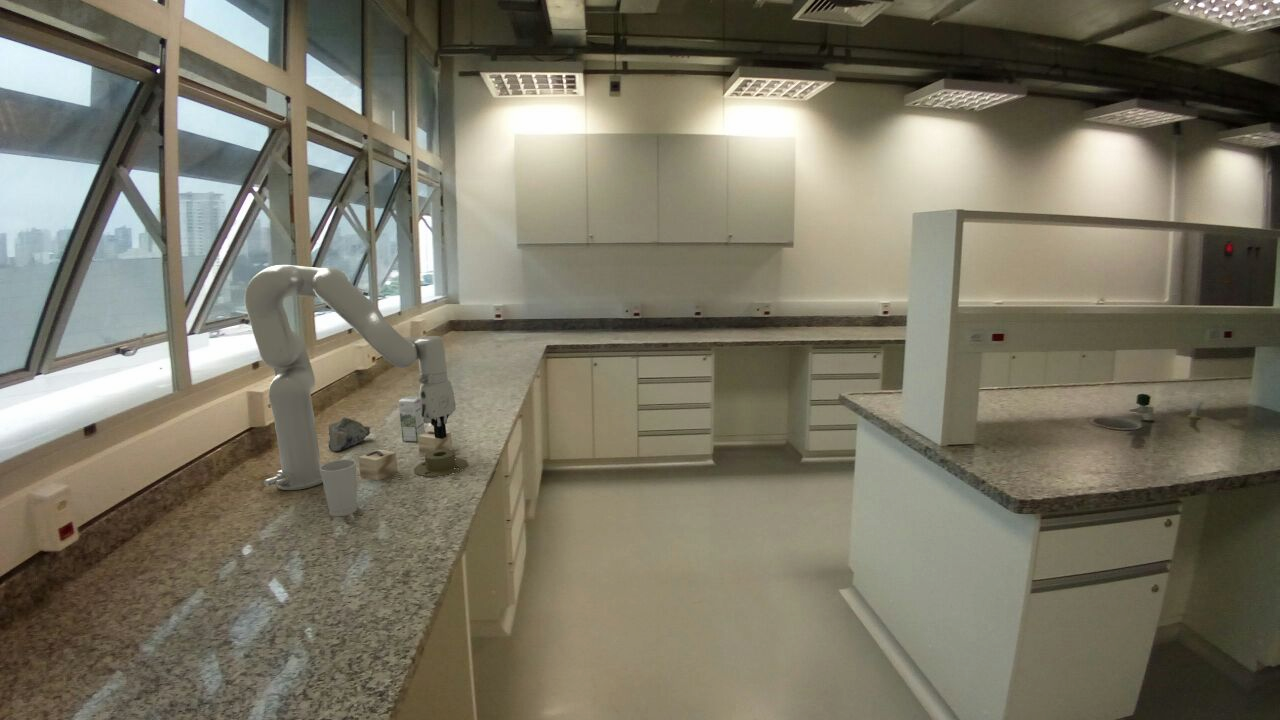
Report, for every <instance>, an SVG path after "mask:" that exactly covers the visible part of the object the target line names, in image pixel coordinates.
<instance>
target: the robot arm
mask: <svg viewBox="0 0 1280 720" xmlns="http://www.w3.org/2000/svg"><path fill="white" fill-rule="evenodd" d="M348 278H349V277H347V274H345V273H344V272H343V271H342V270H339V269H337V268H332V267H315V266H314V267H313V266H303V265H291V264H277V265H272V266H268V267H266V268H264V269H263V270H260V271H259V272H258V273H257V274H255V275H254V276H253V277H252V278H251V280H250V281H249V282H248V284H247V286H246V287H245V291H244V306H245V310H246V312H247V316H248V319H249V323H250V326H251V329H252V334H253V336H254V339H255V342H256V346H257V350H258V353H259V355H260V358H261V360H262V362H263V363H264V364H265V365H266V366H268V367H270V368H272V369H273V374H274V376H275V377H274V378H273V380H272V381H271V382H270V385H269V388H268V400H269V405H270V407H271V412H272V415H273V416H272V417H273V422H274V427H275V433H276V439H277V448H278V455H279V460H280V470H277V474H276V475H275V476H273V477H269V478H267V479H265V480H264V481H263V484H264V486H265V487H266V488H268V487H271V486H273V485H275V486H277V489H279V490H284V491H297V490H299V491H300V490H304V489H309V488H312V487H315V486H318V485H321V484H323V481H322V477H321V473H320V467H321V466H322V464H321V457H320V448H319V442H318V440H319V439H318V432H317V427H316V419H315V414H314V413H315V412H314V409H313V407H314V406H313V404H312V403H313V402H312V395H311V394H312V392H313V391H314V388H315V385H316V379H315V378H316V377H315V374H314V371H313V368H312V363H311V360H310V358H309V357H310V356H309V354H308V350H307V348H306V345H305V342H304V340H303V338H302V336H300V334H298V333H297V332H295V331H293V330H292V329H291V326H290V322H289V318H288V315H287V312H286V311H285V307H284V300H285V299H286V298H288V297H292V296H293V297H306V298H308V297H309V298H319V299H320V300H321V301H322V302H324V304H326V305H327V306H328V307H329V308H330V309H331V310H332V311H334V312H335V313H336V314H337V315H338V316H339V317H340V318H342V319H343V320H344V321H345V322H346V323H347V324H348V325H349V326H350V327H352V328H353V329H354V331H355V332H356V333H357V334H358V335H359V336H361V337H362V339H364V340H365V342H367V344H369V346H370V347H371V348H373V349H374V350H375V351H376V352H378V354H379V355H380V356H381V357H383V358H384V359H385V360H386V361H387V362H389V364H391V365H392V366H394V367H396V368H400V369H407V368H409V367H411V366H412V365H413V364H414V363H415V362H416V361H418V367H419V368H418V370H419V375H420V376H419V379H418V382H419V383H420V386H419V397H420V411H421V416H422V417H423V419H424V420H423V422H424V424H431V426H432V427H433V430H434V434H435V438H440V439H443V438H445V437H447V435H446V431H447V427H446V425H447V423H448V419H449V417H451V416H452V414H453V413H454V412H455V411H456V410H457V409H456V399H455V393H454V389H453V384H452V383H451V380H450V379H448V377H449V376H448V369H447V360H446V359H447V358H446V350H445V342H444V339H443V337H442V336H438V335H428V336H427V335H426V336H421V337H409V336H407V337H405V336H404V337H403V336H402V335H401V334H400V333H399V332H398V331H397V330H396V329H395V328H394V327H393V326H392V325H390V323H389V322H388V320H386V319H385V317H384V316H383V314H382V312H381V311H380V309H379V308H378V306H376V305H375V303H374V302H372V301H371V300H370V299H369V298H368V297H367V296H366V295H364V294H363V293H362V292H361V291H360V290H359V289H358V288H357V287H356V286H355V285H354V284H353V283H352V282H351V281H349V279H348Z"/></svg>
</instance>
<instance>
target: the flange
mask: <svg viewBox="0 0 1280 720" xmlns="http://www.w3.org/2000/svg"><path fill="white" fill-rule="evenodd" d="M455 459H456V460H455ZM424 464H425V465H424ZM466 466H468V461H467V459H464V458H462V457H457V456H456V452H455V450H453V449H452V450H450V449H439V450H434V451H431V452H428V453H426V454H424V461H422V462H420V463H419V464H417V465H416V466H415V467H414V468H413V473H414V475H416V476H418V477H421V476H423V477H422V478H439V477H438V476H443V477H446V476H445V475H448V476H450V475H449V474H452V473H455V474H457V473H456V472H458V471H460V470H462V469H464V468H465V467H466ZM454 468H459V469H454ZM466 468H467V467H466ZM466 468H465V469H466ZM465 469H464V470H465ZM462 471H463V470H462ZM460 472H461V471H460ZM427 473H428V474H427ZM458 473H459V472H458ZM452 475H453V474H452Z"/></svg>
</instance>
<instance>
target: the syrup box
mask: <svg viewBox="0 0 1280 720" xmlns="http://www.w3.org/2000/svg"><path fill="white" fill-rule="evenodd" d="M398 410H399V419H400V428H401V429H400V430H401V440H402V442H408V443H410V442H413V443H415V442H416V443H419V441H418V435H421V434H424V433H426V430H425V423H424V422H423V420H424V417H422V416H421V411H420V396H404V397H402V398H401V399H399V400H398Z"/></svg>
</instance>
